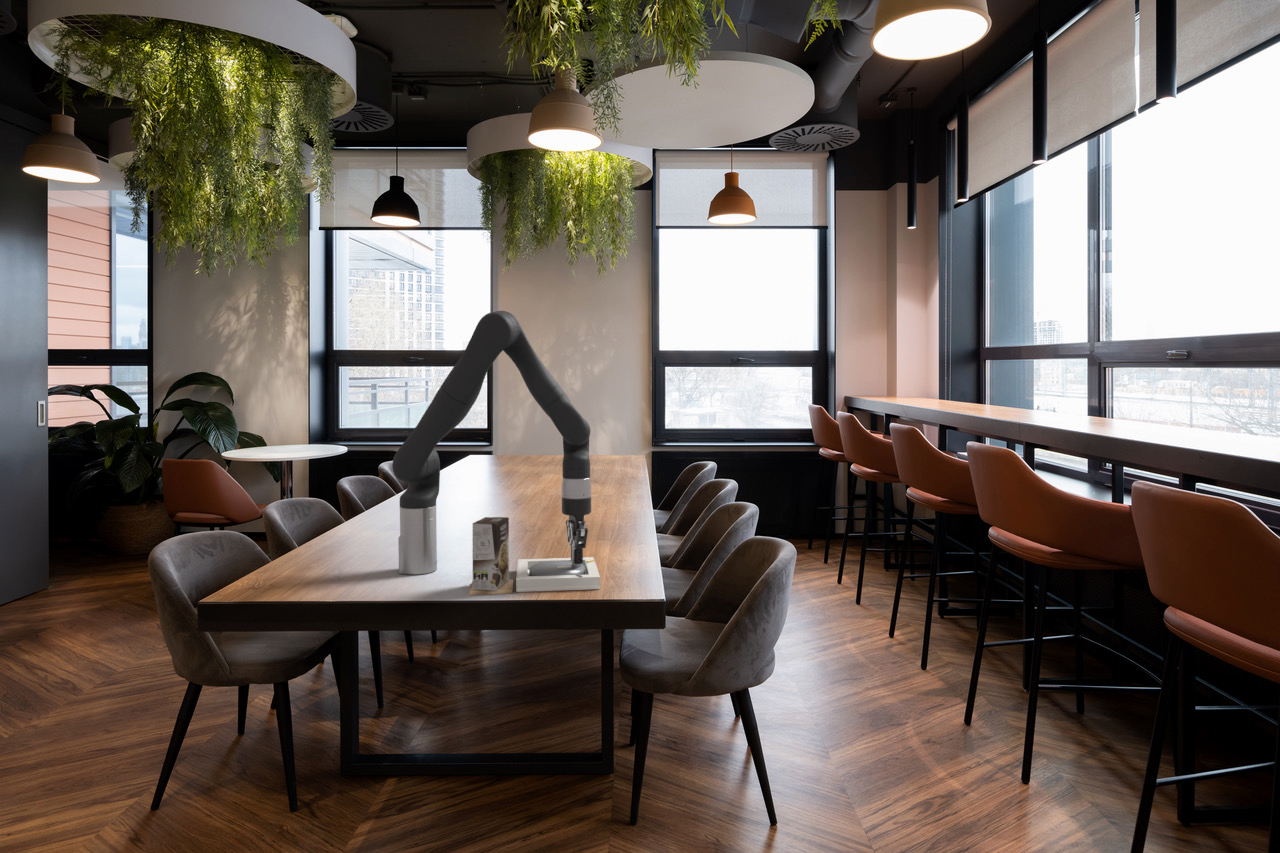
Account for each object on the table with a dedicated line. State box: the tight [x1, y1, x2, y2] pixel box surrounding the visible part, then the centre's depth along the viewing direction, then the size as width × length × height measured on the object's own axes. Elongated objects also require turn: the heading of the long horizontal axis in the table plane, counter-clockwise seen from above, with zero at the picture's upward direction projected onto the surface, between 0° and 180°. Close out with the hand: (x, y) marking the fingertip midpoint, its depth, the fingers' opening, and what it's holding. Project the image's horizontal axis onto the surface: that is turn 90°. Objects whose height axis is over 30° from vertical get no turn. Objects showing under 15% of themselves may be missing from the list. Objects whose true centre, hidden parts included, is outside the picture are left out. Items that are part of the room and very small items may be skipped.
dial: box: [529, 542, 585, 576], centre depth 187 cm, size 14×14×8 cm
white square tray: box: [515, 556, 601, 593], centre depth 187 cm, size 20×20×3 cm
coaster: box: [468, 579, 514, 596], centre depth 179 cm, size 10×10×1 cm
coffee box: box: [472, 516, 510, 591], centre depth 179 cm, size 9×6×16 cm
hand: (576, 561), depth 189 cm, fingers closed on dial, 2 cm apart
